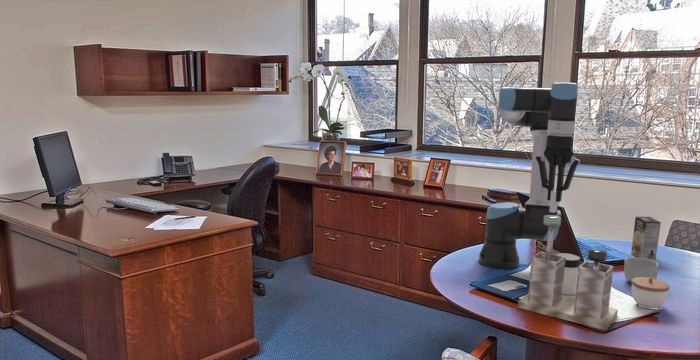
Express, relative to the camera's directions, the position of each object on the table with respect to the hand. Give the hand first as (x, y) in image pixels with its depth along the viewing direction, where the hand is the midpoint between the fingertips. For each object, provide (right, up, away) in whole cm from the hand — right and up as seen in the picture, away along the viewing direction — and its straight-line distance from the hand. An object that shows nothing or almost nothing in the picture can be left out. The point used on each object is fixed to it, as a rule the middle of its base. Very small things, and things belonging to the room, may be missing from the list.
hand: (553, 211), depth 178 cm
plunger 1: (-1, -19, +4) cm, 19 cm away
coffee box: (+58, -22, +60) cm, 86 cm away
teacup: (+41, -27, +31) cm, 58 cm away
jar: (+11, -28, +19) cm, 36 cm away
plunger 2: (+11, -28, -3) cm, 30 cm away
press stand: (+5, -31, +2) cm, 31 cm away
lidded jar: (+33, -31, +8) cm, 46 cm away
